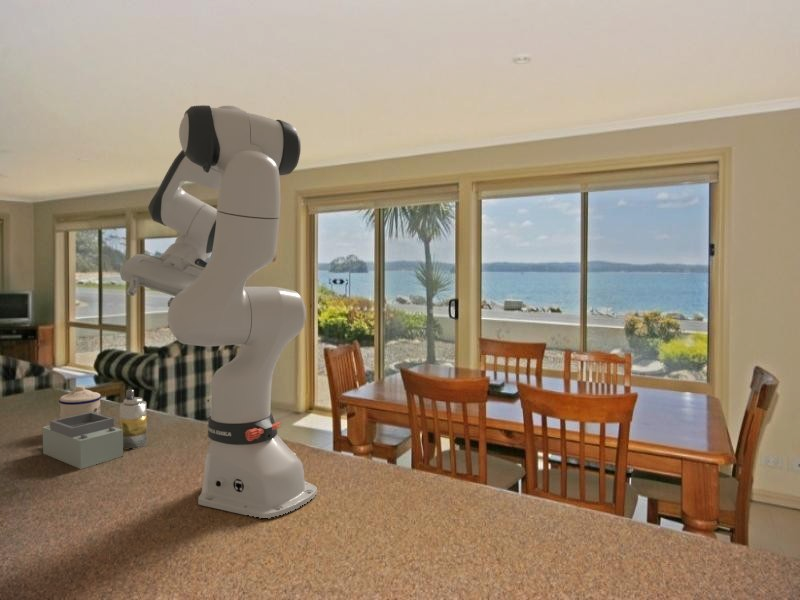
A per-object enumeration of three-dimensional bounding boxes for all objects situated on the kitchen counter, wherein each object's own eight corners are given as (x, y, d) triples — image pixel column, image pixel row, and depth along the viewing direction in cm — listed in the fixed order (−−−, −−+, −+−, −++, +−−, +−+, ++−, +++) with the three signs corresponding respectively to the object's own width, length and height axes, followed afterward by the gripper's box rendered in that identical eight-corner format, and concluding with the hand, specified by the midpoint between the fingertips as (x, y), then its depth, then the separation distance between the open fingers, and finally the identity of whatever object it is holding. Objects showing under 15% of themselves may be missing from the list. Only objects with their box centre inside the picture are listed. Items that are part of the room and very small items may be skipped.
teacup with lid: (98, 435, 131) (97, 389, 130) (55, 439, 127) (54, 391, 127) (105, 421, 142) (105, 379, 141) (66, 424, 139) (65, 381, 138)
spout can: (152, 444, 125) (151, 390, 125) (129, 451, 121) (128, 395, 120) (138, 439, 128) (137, 386, 128) (115, 446, 124) (114, 391, 123)
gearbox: (123, 456, 117) (122, 421, 117) (81, 469, 110) (80, 431, 109) (76, 439, 128) (75, 406, 127) (34, 449, 120) (33, 415, 120)
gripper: (136, 241, 128) (104, 275, 117) (218, 267, 130) (193, 302, 119) (137, 261, 132) (106, 295, 121) (217, 286, 134) (193, 322, 123)
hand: (150, 299), depth 120 cm, fingers open, 8 cm apart
